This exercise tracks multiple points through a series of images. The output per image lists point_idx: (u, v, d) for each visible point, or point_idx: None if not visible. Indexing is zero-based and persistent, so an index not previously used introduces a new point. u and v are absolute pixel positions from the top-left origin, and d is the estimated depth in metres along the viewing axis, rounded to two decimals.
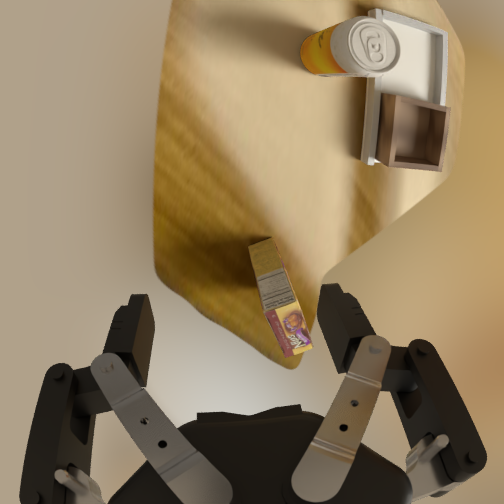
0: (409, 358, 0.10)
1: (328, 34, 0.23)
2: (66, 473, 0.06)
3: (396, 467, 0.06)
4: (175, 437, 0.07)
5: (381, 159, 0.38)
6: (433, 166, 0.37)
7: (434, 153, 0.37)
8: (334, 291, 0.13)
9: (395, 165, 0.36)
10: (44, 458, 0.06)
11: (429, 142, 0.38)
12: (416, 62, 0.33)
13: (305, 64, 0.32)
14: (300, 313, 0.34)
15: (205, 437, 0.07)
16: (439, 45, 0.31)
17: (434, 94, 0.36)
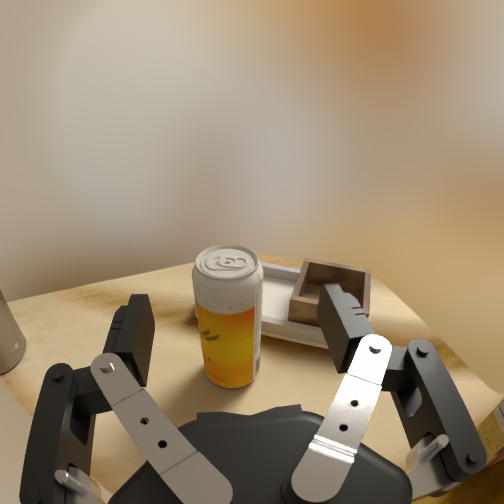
0: (409, 358, 0.10)
1: (204, 317, 0.26)
2: (66, 473, 0.06)
3: (396, 467, 0.06)
4: (175, 436, 0.07)
5: None
6: (365, 276, 0.40)
7: (352, 278, 0.42)
8: (334, 291, 0.13)
9: (367, 308, 0.35)
10: (44, 458, 0.06)
11: (342, 286, 0.43)
12: None
13: (238, 383, 0.30)
14: None
15: (205, 437, 0.07)
16: None
17: (292, 280, 0.47)
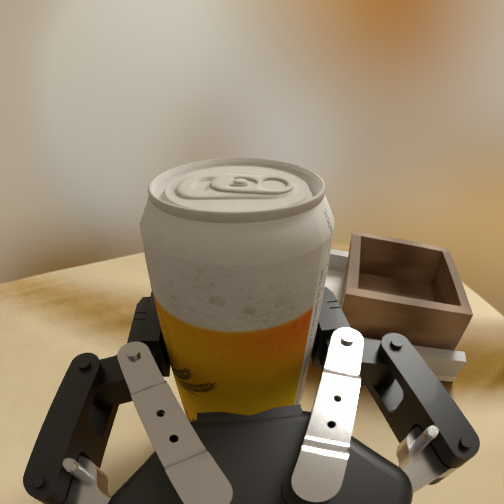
0: (384, 354, 0.10)
1: (175, 338, 0.09)
2: (75, 462, 0.06)
3: (396, 467, 0.06)
4: (188, 433, 0.07)
5: (456, 335, 0.18)
6: (445, 257, 0.23)
7: (423, 262, 0.25)
8: None
9: (466, 304, 0.18)
10: (55, 444, 0.06)
11: (407, 274, 0.27)
12: None
13: None
14: None
15: (205, 437, 0.07)
16: None
17: (330, 267, 0.31)
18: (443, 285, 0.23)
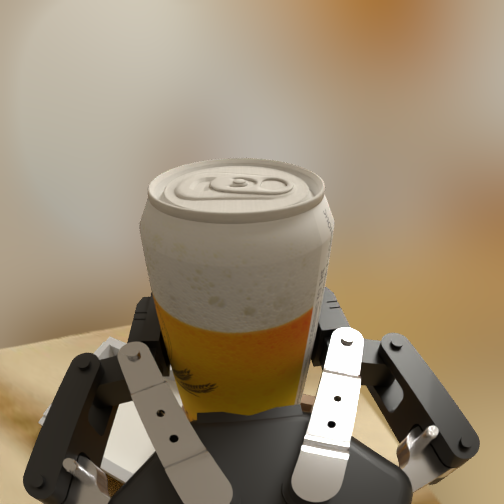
0: (384, 353, 0.10)
1: (175, 338, 0.09)
2: (75, 462, 0.06)
3: (396, 467, 0.06)
4: (188, 433, 0.07)
5: None
6: None
7: None
8: None
9: None
10: (55, 444, 0.06)
11: None
12: None
13: None
14: None
15: (205, 437, 0.07)
16: None
17: None
18: None
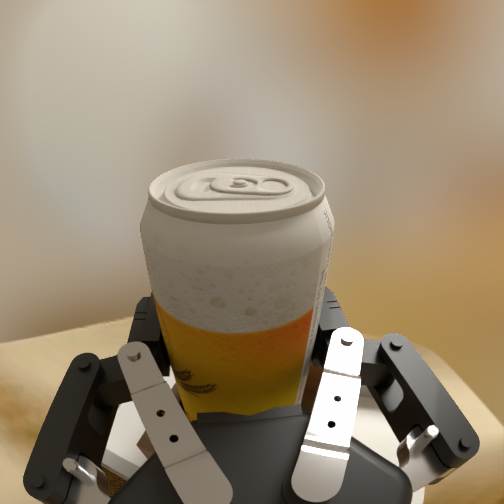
0: (384, 354, 0.10)
1: (175, 339, 0.09)
2: (75, 462, 0.06)
3: (396, 467, 0.06)
4: (188, 433, 0.07)
5: None
6: None
7: (316, 373, 0.18)
8: None
9: None
10: (55, 444, 0.06)
11: None
12: None
13: None
14: None
15: (205, 437, 0.07)
16: None
17: None
18: None
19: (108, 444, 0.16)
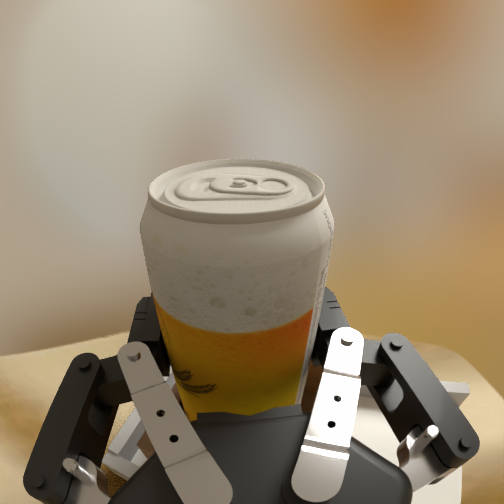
0: (384, 354, 0.10)
1: (175, 339, 0.09)
2: (75, 462, 0.06)
3: (396, 467, 0.06)
4: (188, 433, 0.07)
5: None
6: None
7: (316, 373, 0.18)
8: None
9: None
10: (55, 444, 0.06)
11: None
12: None
13: None
14: None
15: (205, 437, 0.07)
16: None
17: None
18: None
19: None
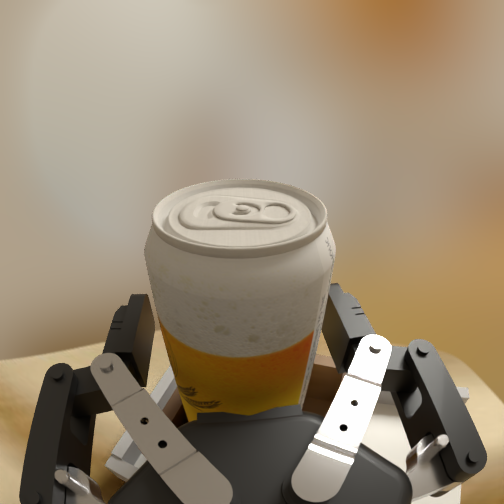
0: (409, 358, 0.10)
1: (180, 360, 0.10)
2: (66, 473, 0.06)
3: (396, 467, 0.06)
4: (175, 436, 0.07)
5: None
6: None
7: (315, 378, 0.18)
8: (334, 291, 0.13)
9: None
10: (44, 458, 0.06)
11: None
12: None
13: None
14: None
15: (205, 437, 0.07)
16: None
17: None
18: None
19: None
